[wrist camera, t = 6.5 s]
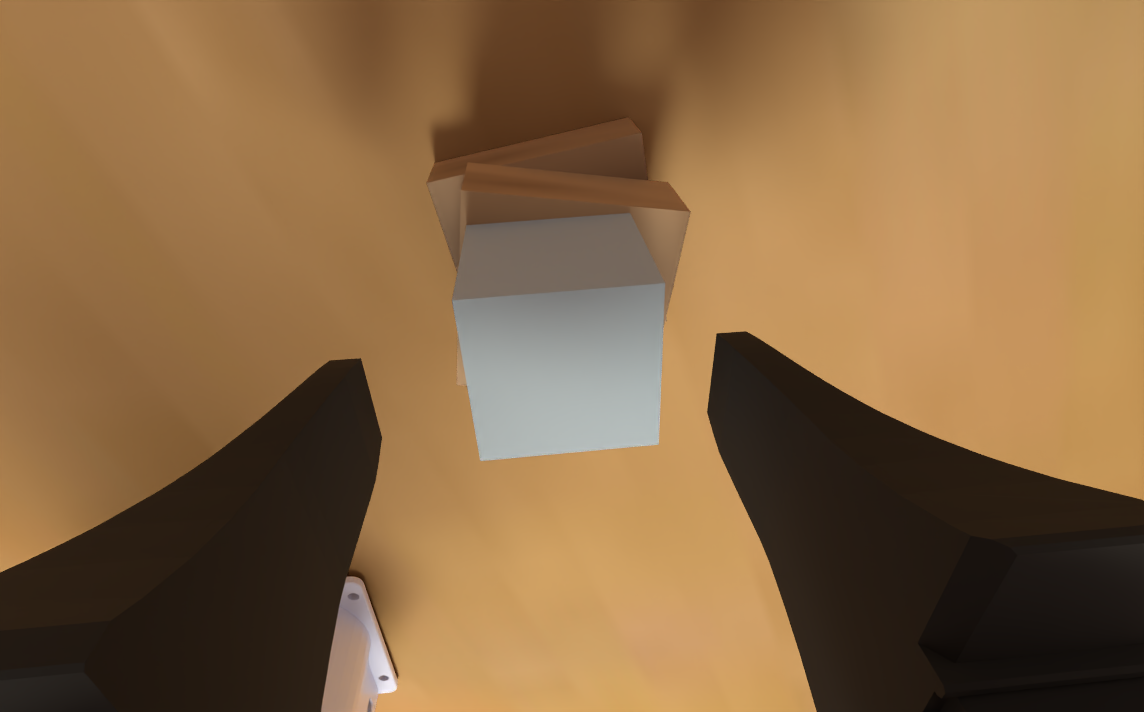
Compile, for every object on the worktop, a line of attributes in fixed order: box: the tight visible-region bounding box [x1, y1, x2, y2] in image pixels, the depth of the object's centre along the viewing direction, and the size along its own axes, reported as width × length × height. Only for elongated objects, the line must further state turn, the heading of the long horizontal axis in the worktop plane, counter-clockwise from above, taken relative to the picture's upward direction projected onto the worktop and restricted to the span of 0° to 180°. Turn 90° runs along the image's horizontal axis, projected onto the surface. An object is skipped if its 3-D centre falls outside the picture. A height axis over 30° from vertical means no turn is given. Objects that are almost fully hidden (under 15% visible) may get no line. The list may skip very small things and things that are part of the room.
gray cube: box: [452, 213, 665, 461], centre depth 14 cm, size 4×4×4 cm
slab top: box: [457, 162, 690, 386], centre depth 17 cm, size 6×6×2 cm
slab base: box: [427, 117, 667, 321], centre depth 19 cm, size 6×6×2 cm
